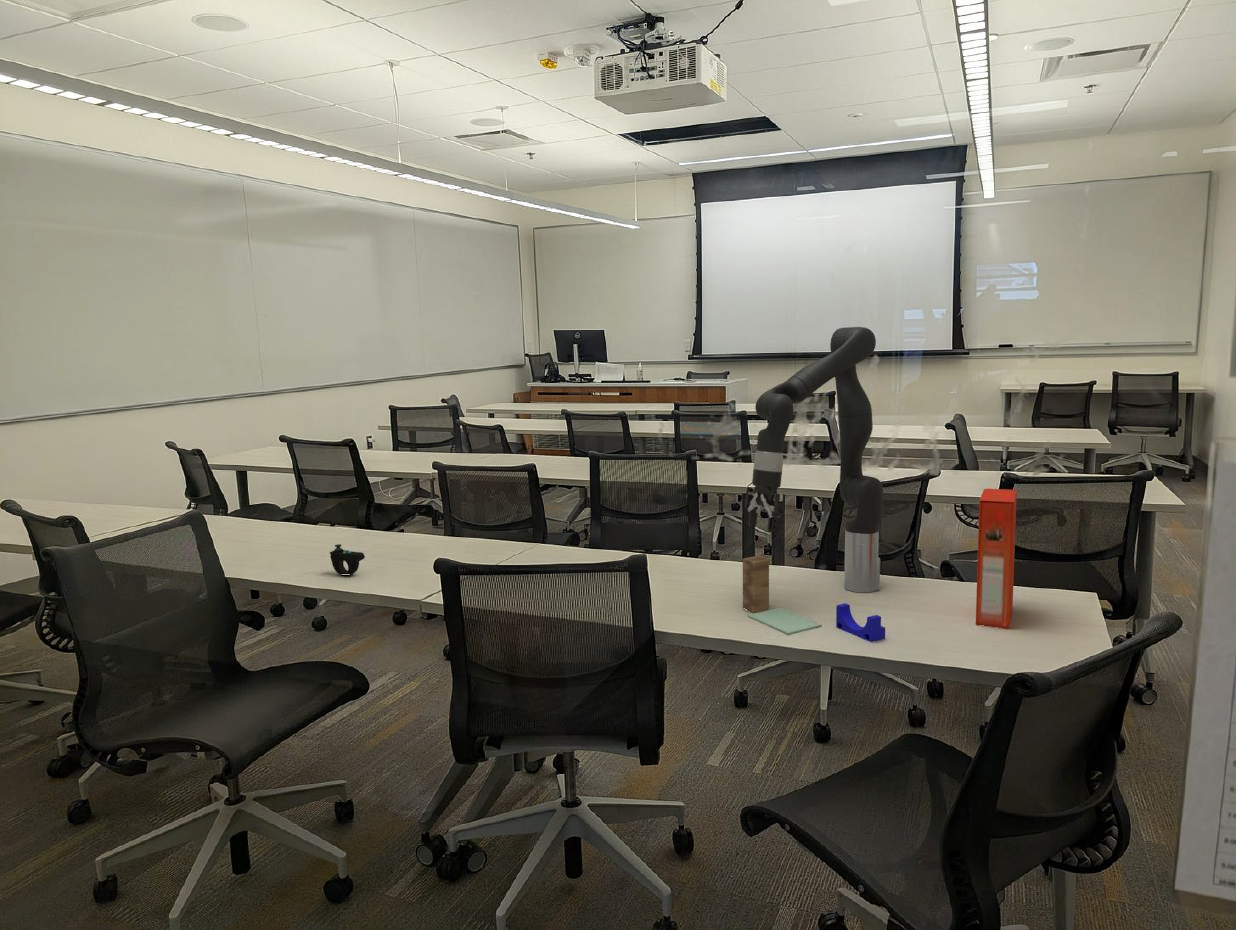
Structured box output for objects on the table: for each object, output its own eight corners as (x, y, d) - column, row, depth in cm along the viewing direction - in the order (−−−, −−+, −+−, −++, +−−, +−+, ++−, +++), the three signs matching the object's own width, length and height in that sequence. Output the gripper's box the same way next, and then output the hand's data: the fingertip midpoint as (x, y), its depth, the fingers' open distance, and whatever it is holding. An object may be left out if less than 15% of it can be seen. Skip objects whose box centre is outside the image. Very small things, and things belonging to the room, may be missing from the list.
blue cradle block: (885, 639, 194) (885, 615, 193) (871, 642, 192) (871, 618, 191) (849, 624, 205) (850, 602, 204) (836, 628, 203) (836, 605, 202)
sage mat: (747, 616, 212) (747, 614, 212) (780, 609, 217) (780, 607, 217) (788, 634, 198) (788, 632, 198) (821, 626, 203) (821, 624, 203)
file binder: (974, 624, 202) (979, 499, 197) (979, 604, 217) (984, 488, 212) (1009, 629, 198) (1016, 502, 193) (1012, 608, 213) (1018, 490, 208)
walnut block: (742, 608, 219) (742, 558, 217) (757, 605, 221) (757, 556, 219) (754, 613, 214) (754, 562, 212) (769, 610, 217) (769, 560, 215)
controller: (338, 572, 266) (336, 542, 264) (368, 575, 261) (365, 545, 259) (329, 575, 262) (326, 545, 260) (359, 579, 257) (356, 548, 255)
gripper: (796, 472, 208) (789, 534, 210) (763, 466, 221) (757, 524, 222) (772, 471, 205) (766, 533, 206) (740, 465, 218) (734, 524, 219)
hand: (761, 528), depth 214 cm, fingers open, 8 cm apart
